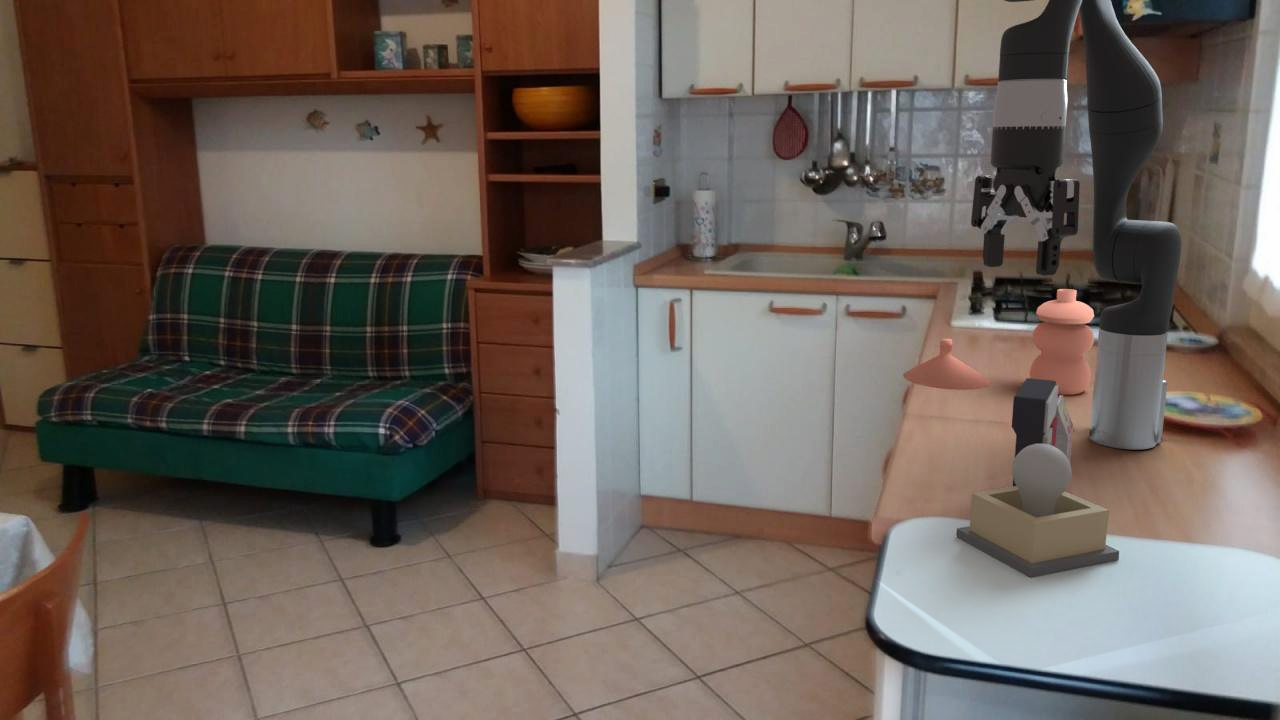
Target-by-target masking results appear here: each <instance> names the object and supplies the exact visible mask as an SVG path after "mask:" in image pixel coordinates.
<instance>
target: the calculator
mask: <svg viewBox="0 0 1280 720" xmlns="http://www.w3.org/2000/svg"><path fill="white" fill-rule="evenodd" d="M1058 395H1059V394H1058V385H1056V381H1052V380H1041V379H1031V378H1030V377H1029V378H1028V377H1027V378H1025V380H1024V382H1023V383H1022V384H1021V386H1020V388H1019V389H1018V390H1017V392H1016V393H1015V395H1014V396H1013V403H1012V404H1013V405H1012V414H1011V415H1012V417H1011V429H1012V430H1013V432H1014V433H1015V449H1014V458H1015V457H1016V456H1017V454H1018V453H1019V452H1020V451H1021V450H1022V449H1024V448H1025V447H1027V446H1030V445H1033V444H1048V445H1052V446H1054V447H1055V443H1056V431H1057V417H1055V415H1056V410H1057V400H1058V398H1059V396H1058ZM1012 486H1016V484H1015V482H1014V479H1013V478H1012Z"/></svg>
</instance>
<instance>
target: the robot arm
mask: <svg viewBox="0 0 1280 720" xmlns="http://www.w3.org/2000/svg"><path fill="white" fill-rule="evenodd" d="M1003 1H1005V2H1008V3H1019V2H1020V3H1021V2H1030V1H1031V2H1034V0H1003ZM1078 14H1079V16H1080V17H1079V18H1080V22H1081V30H1082V39H1083V45H1084V56H1085V57H1084V59H1085V73H1086V74H1085V76H1086V94H1087V95H1086V98H1087V101H1086V103H1087V118H1088V131H1089V139H1090V150H1091V160H1092V161H1091V162H1092V172H1093V173H1092V176H1093V221H1092V223H1093V225H1092V227H1093V228H1092V229H1093V230H1092V247H1093V248H1092V255H1093V263H1094V268H1095V270H1096V273H1097V275H1098V276H1099V278H1100V279H1102V280H1103V281H1107V282H1115V283H1123V284H1131V285H1132V284H1133V285H1141V290H1140V293H1139V295H1138V297H1136V298H1135V299H1132V300H1131V301H1129V302H1125V303H1121V304H1116V305H1115V304H1114V305H1111V306H1107V307H1106V308H1103V309H1102V311H1100V316H1099V324H1098V326H1099V327H1098V337H1097V351H1096V360H1095V371H1094V382H1093V392H1092V404H1091V415H1090V423H1089V424H1090V426H1089V439H1090V441H1092V442H1094V443H1096V444H1098V445H1101V446H1105V447H1108V448H1115V449H1122V450H1123V449H1124V450H1148V449H1151V448H1154V447H1156V445H1157V444H1161V443H1162V438H1163V429H1164V420H1165V410H1166V400H1167V399H1166V398H1167V391H1168V382H1167V380H1164V374H1165V364H1166V354H1167V345H1168V344H1167V343H1168V334H1169V325H1170V320H1171V316H1172V312H1173V307H1174V299H1175V292H1176V286H1177V285H1176V284H1177V278H1178V274H1179V268H1180V267H1179V266H1180V262H1181V256H1182V235H1181V232H1180V230H1179V228H1178V226H1177V225H1176V224H1175V223H1172V222H1169V221H1155V220H1140V219H1137V220H1136V219H1128V218H1127V199H1128V194H1129V191H1130V189H1131V186H1132V184H1133V182H1134V181H1135V179H1136V177H1137V175H1138V174H1139V173H1140V171H1141V169H1142V168H1143V167H1144V165H1145V163H1146V162H1147V160H1148V159H1149V158H1150V156H1151V155H1152V152H1154V150H1155V148H1156V146H1157V144H1158V142H1159V141H1160V138H1161V136H1162V133H1163V127H1164V121H1163V120H1164V119H1163V97H1162V95H1163V94H1162V93H1163V92H1162V87H1161V82H1160V79H1159V77H1158V75H1157V73H1156V71H1155V70H1154V69H1153V68H1152V65H1151V64H1150V63H1149V62H1148V60H1147V59H1146V58H1145V57H1144V55H1143V54H1142V53H1141V52H1140V51H1139V50H1138V49H1137V47H1136V46H1135V45H1134V44H1133V43H1132V41H1131V40H1130V39H1129V37H1128V36H1127V34H1125V32H1124V30H1123V29H1122V27H1121V25H1120V23H1119V21H1118V19H1117V16H1116V13H1115V10H1114V7H1113V4H1112V0H1048V2H1047V5H1046V6H1045V7H1044V9H1043V10H1042V12H1041V14H1040V15H1039V16H1037V17H1035V18H1034V19H1032V20H1029V21H1026V22H1025V21H1024V22H1022V23H1019V24H1016V25H1013V26H1010V27H1008V28H1007V29H1006V30H1004V32H1003V33H1002V36H1001V39H1000V40H1001V41H1000V49H999V65H998V79H997V80H998V82H997V88H996V93H995V98H994V105H993V115H992V116H993V118H992V119H993V120H992V133H991V146H990V147H991V148H990V149H991V151H990V165H991V166H992V167H993V168H996V173H995V174H996V175H994V174H993V175H990V174H988V175H985V174H984V175H977V176H976V177H975V181H974V189H973V199H972V207H971V216H970V217H971V220H970V224H971V227H973V228H978V229H979V230H980V231H981V233H982V234H983V244H982V245H983V249H982V251H983V252H982V258H983V265H984V266H985V267H988V268H993V267H994V268H995V267H1001V266H1003V264H1004V263H1003V262H1004V252H1005V251H1004V248H1005V237H1006V235H1005V233H1004V231H1005V230H1006V228H1007V227H1008V224H1009V223H1010V221H1012V220H1014V219H1016V218H1017V217H1019V218H1027V221H1028V223H1029V224H1030V225H1032V226H1033V227H1034V228H1035V231H1036V233H1037V235H1038V237H1039V240H1038V242H1037V255H1036V266H1035V267H1036V269H1035V273H1036V275H1038V276H1054V275H1055V274H1056V273H1057V270H1058V268H1059V266H1060V255H1061V254H1060V253H1061V243H1062V241H1063V240H1064V239H1065V238H1067V237H1071V236H1076V235H1077V234H1078V231H1079V214H1080V213H1079V211H1080V210H1079V209H1080V186H1081V185H1080V180H1079V179H1078V178H1077V179H1076V178H1068V179H1067V178H1066V179H1061V178H1060V179H1059V178H1057V175H1056V174H1057V169H1058V168H1059V167H1061V166H1062V165H1063V162H1064V153H1065V152H1064V151H1065V149H1064V148H1065V139H1066V138H1065V137H1066V125H1067V113H1068V111H1067V110H1068V91H1067V90H1068V89H1067V88H1068V86H1067V84H1068V83H1067V82H1068V81H1067V79H1068V69H1069V67H1068V66H1069V57H1070V45H1071V39H1072V34H1073V31H1074V27H1075V25H1076V20H1077V17H1078ZM984 207H985V210H984V211H985V212H984V216H982V215H983V208H984ZM1065 214H1066V224H1065ZM1003 233H1004V234H1003Z"/></svg>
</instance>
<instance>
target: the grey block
mask: <svg viewBox="0 0 1280 720" xmlns="http://www.w3.org/2000/svg"><path fill="white" fill-rule="evenodd" d="M1064 399H1065V398H1064V395H1062V394H1059V396H1058V398H1057V410H1056V415H1055V417H1057V431H1056V443H1055V447H1056V448H1058V449H1059V450H1060V451H1062V452H1063V453H1064V454H1065V456H1066V457H1067V458H1068V460H1069V462H1070V463H1071V453H1072V444H1073V443H1072V441H1073V433H1074V432H1073V429H1074V423H1073V421H1072V419H1071V417H1070V414H1069V410H1068V408H1067V406H1066V403H1065V400H1064Z"/></svg>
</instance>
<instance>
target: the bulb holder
mask: <svg viewBox="0 0 1280 720" xmlns="http://www.w3.org/2000/svg"><path fill="white" fill-rule="evenodd" d="M970 505H971V507H970V519H969V520H970V521H969V525H968V526H963V527H957V528H956V533H955V534H956V536H957V537H956V538H958V537H959V538H958V539H959V540H961V539H962V541H964V542H965V543H967V544H969V545H971V546H973V547H974V548H976V549H978V550H979V551H982V552H983V553H985V554H987V555H989V556H991V557H992V558H994V559H996V560H998V561H1000V562H1002V563H1003V564H1005V565H1007V566H1009V567H1010V568H1013V569H1015V570H1017V571H1018V572H1020V573H1021V574H1024V575H1025V576H1027V577H1029V578H1034V577H1039V576H1040V577H1041V576H1044V575H1049V574H1054V573H1059V572H1064V571H1068V570H1074V569H1075V570H1076V569H1078V568H1084V567H1089V566H1093V565H1099V564H1103V563H1104V564H1105V563H1109V562H1113V561H1119V560H1120V559H1119V558H1120V550H1118V549H1116V548H1114V547H1111V546H1109V545H1107V544H1106V542H1107V533H1108V531H1107V530H1108V522H1109V515H1110V514H1109V513H1110V510H1109V509H1107V508H1105V507H1103V506H1101V505H1098V504H1096V503H1093V502H1091V501H1089V500H1086V499H1084V498H1082V497H1079V496H1077V495H1075V494H1072V493H1071V492H1070V493H1069V492H1068V491H1066V490H1065V491H1064V492H1063V493H1062V495H1061V496H1060V497H1059V499H1058V501H1057V503H1056V506H1055V509H1054V514H1053V515H1048V516H1043V517H1037V518H1036V517H1034V516H1032V515H1030V514H1027V513H1025V512H1023V502H1022V498H1021V495H1020V492H1019V490H1018V488H1017V486H1013V485H1012V486H1006V487H1000V488H994V489H988V490H982V491H975V492H972V493H971V503H970Z"/></svg>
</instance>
